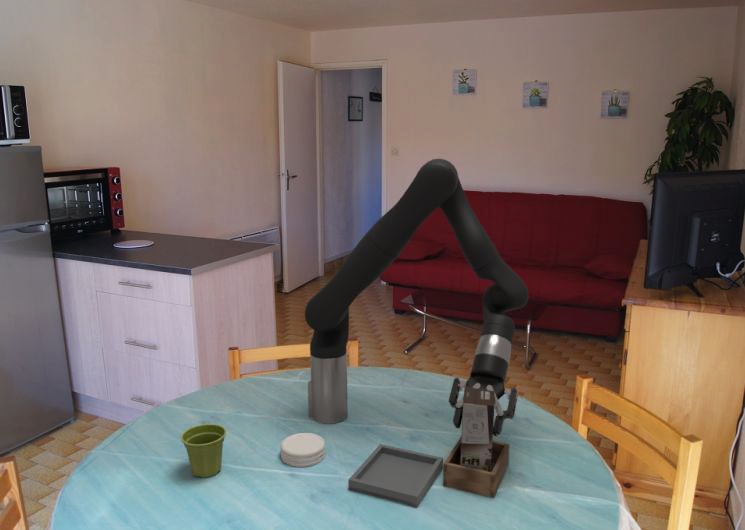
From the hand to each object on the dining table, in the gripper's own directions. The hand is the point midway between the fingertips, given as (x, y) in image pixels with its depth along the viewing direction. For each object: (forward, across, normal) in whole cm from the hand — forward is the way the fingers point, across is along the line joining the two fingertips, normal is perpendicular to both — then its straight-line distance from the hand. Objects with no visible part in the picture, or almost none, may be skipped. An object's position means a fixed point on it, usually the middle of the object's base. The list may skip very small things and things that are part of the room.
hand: (475, 431), depth 127 cm
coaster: (+13, -38, +4) cm, 40 cm away
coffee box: (+5, 0, +7) cm, 9 cm away
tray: (+12, -15, +3) cm, 19 cm away
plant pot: (+23, -54, -6) cm, 59 cm away
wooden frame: (+7, 0, +8) cm, 11 cm away
